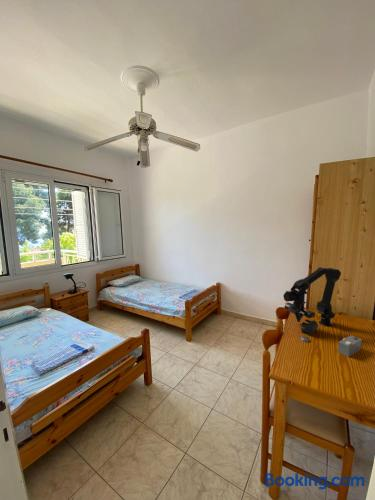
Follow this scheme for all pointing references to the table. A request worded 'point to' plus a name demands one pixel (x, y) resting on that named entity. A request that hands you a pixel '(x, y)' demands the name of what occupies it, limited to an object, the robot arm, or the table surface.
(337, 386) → the table surface
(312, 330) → the end cap
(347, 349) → the camera body
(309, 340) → the lens cap
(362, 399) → the table surface
